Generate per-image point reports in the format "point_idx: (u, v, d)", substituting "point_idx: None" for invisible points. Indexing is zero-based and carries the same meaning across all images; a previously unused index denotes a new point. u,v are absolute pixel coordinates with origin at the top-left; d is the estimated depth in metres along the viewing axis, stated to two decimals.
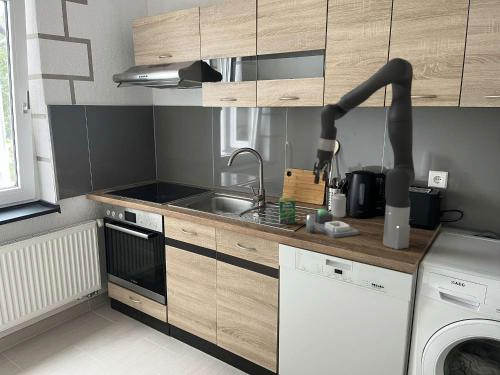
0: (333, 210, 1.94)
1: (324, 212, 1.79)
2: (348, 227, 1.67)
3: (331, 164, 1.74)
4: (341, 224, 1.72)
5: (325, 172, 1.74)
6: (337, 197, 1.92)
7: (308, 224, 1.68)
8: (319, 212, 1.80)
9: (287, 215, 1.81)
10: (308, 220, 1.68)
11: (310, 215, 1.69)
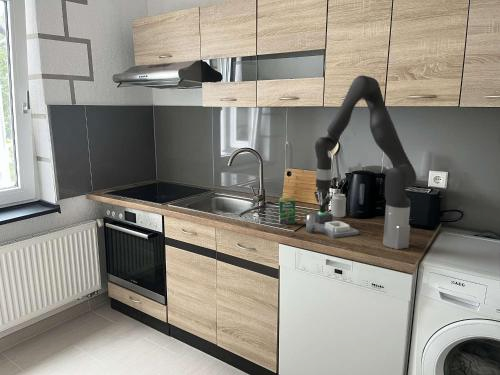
0: (333, 210, 1.94)
1: (324, 214, 1.80)
2: (348, 227, 1.67)
3: None
4: (341, 224, 1.72)
5: None
6: (337, 197, 1.92)
7: (308, 224, 1.68)
8: None
9: (287, 215, 1.81)
10: (308, 220, 1.68)
11: (310, 215, 1.69)
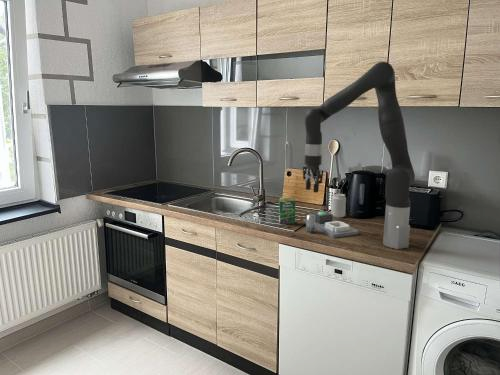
0: (333, 210, 1.94)
1: None
2: (348, 227, 1.67)
3: None
4: (341, 224, 1.72)
5: (308, 180, 1.68)
6: (337, 197, 1.92)
7: (308, 224, 1.68)
8: None
9: (287, 215, 1.81)
10: (308, 220, 1.68)
11: (310, 215, 1.69)
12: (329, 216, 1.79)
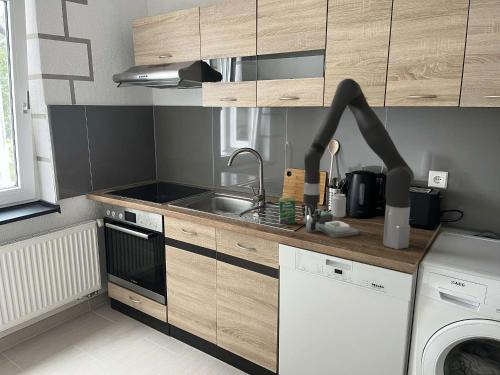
0: (333, 210, 1.94)
1: None
2: (348, 227, 1.67)
3: None
4: (341, 224, 1.72)
5: None
6: (337, 197, 1.92)
7: (308, 224, 1.68)
8: None
9: (287, 215, 1.81)
10: (308, 220, 1.68)
11: None
12: (329, 216, 1.79)
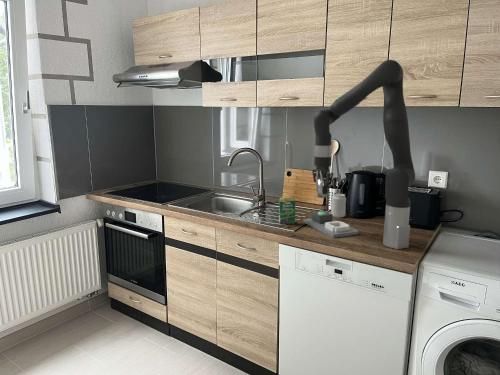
0: (333, 210, 1.94)
1: None
2: (348, 227, 1.67)
3: None
4: (341, 224, 1.72)
5: None
6: (337, 197, 1.92)
7: (319, 188, 1.64)
8: None
9: (287, 215, 1.81)
10: (319, 184, 1.64)
11: None
12: (329, 216, 1.79)
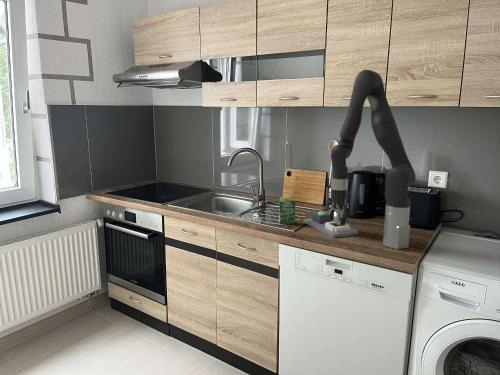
0: None
1: None
2: (348, 227, 1.67)
3: None
4: None
5: (332, 211, 1.73)
6: None
7: (335, 220, 1.68)
8: None
9: (287, 215, 1.81)
10: (336, 216, 1.68)
11: (337, 211, 1.69)
12: (329, 216, 1.79)
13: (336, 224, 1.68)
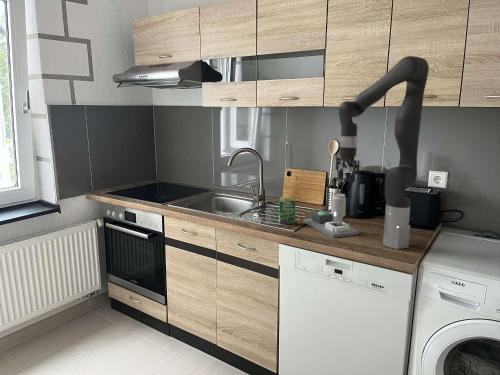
0: (333, 210, 1.94)
1: None
2: (348, 227, 1.67)
3: (340, 161, 1.75)
4: None
5: (341, 170, 1.73)
6: (337, 197, 1.92)
7: (335, 221, 1.68)
8: None
9: (287, 215, 1.81)
10: (335, 217, 1.68)
11: (337, 211, 1.69)
12: (329, 216, 1.79)
13: (336, 224, 1.68)
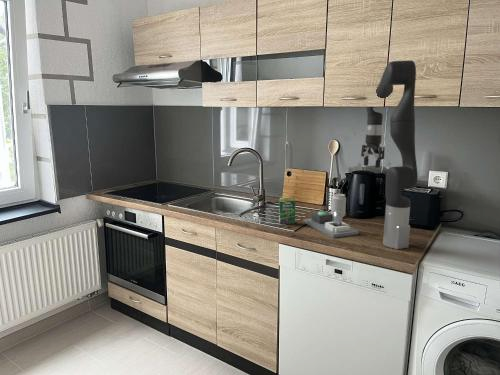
0: (333, 210, 1.94)
1: None
2: (348, 227, 1.67)
3: (365, 149, 1.89)
4: None
5: (366, 157, 1.87)
6: (337, 197, 1.92)
7: (335, 220, 1.68)
8: None
9: (287, 215, 1.81)
10: (335, 216, 1.68)
11: (337, 211, 1.69)
12: (329, 216, 1.79)
13: (336, 224, 1.68)
